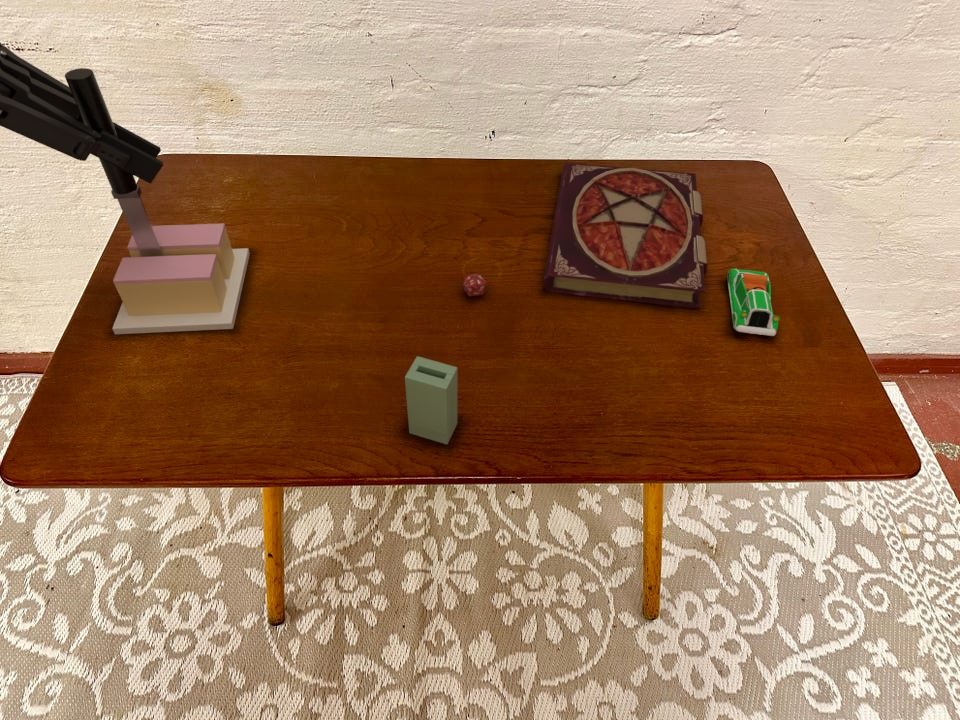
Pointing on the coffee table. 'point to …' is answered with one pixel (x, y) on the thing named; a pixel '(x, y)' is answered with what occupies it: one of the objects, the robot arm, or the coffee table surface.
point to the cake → (181, 282)
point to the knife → (120, 180)
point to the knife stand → (432, 399)
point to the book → (627, 236)
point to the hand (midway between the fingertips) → (155, 165)
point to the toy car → (751, 302)
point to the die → (474, 284)
